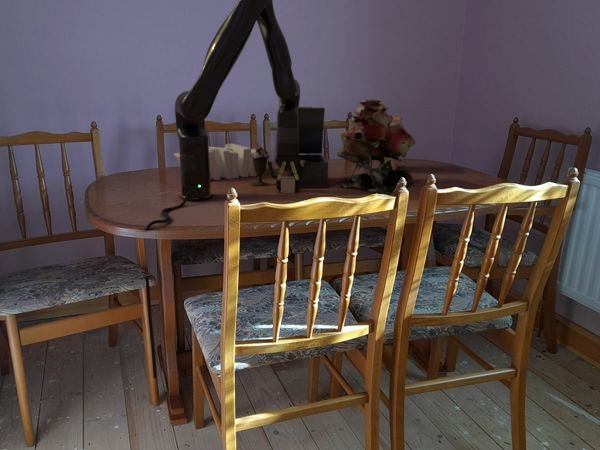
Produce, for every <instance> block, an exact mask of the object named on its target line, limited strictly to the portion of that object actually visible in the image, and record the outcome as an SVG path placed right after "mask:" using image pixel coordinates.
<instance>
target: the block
mask: <svg viewBox="0 0 600 450" xmlns="http://www.w3.org/2000/svg"><path fill="white" fill-rule="evenodd" d="M280 193H281V194H295V193H296V191H295V179H294V177H288V176H281V191H280Z"/></svg>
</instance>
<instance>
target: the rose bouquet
mask: <svg viewBox="0 0 600 450" xmlns="http://www.w3.org/2000/svg"><path fill="white" fill-rule="evenodd" d="M359 104H360V106H361V107H357V108H356V109H355V110H354V114H356V115H354V116H351V118H350V119H351V122H352V124H353V126H351V127H350V128H349V129H346V131H345V132H342V133H341V134H340V138H341V139H340V141H341V143H340V144H341V147H342V148H338V150H339V151H338V152H337V153H336V156H337V157H339V158H341V159H344V160H346V161H348V162H351V163H352V164H355V166H354V169H353V171H352V174H351V176H349V177H347V179H346V181H344V182H341V183H339V184H340V185H341V186H343V189H349V188H356V189H358V190H359V189H360V190H363V191H369V192H373V193H376V194H379V193H381V194H384V195H391V194H393V193H392V192H393V191H394V190H395V188H396V185H397V183H398V182H399V180H400V178H401V177H404V178H405V179H406V181H407V186H409V185H410V184H411V183H412V182H413V175H412V174H411V172H410V171H409V172H408V170H405V169H403V168H397V169H396V170H393V168H392V166H391V159H390V160H389V161H387V162H386V163H384V162H385V159H384V157H388V158H392V159H394V160H396V161H398V163H405V164H406V163H407V162H406V161H404V160H401V159H400V158H401V157H402V158H403V159H405V158H406V157H407V156H408V151H410V149H411V147H412V146H414V145H415V144H416V139H415V138H414V137H413V136H412V134H410V133H409V132H408V131H407V129H406V128H405V126H404V125H403V124H400V123H398V122H391V121H392V119H393V117H394V116H392V115H389V114H388V112H387V110H389V107H388V106H387V105H385V104H383V103H382V100H381V99H376V98H375V99H374V98H373V99H364V100H363V101H360V102H359ZM398 157H399V159H398ZM373 161H378V162H379V165H378V166H377V167H376V168H375V167H374V168H373ZM387 166H388V168H387ZM361 168H363V170H364V171H365V172H359V173H357V174H356V175H354V173H355V172H356V171H357V170H358V171H359V170H360V169H361ZM371 186H373V187H375V188H371V189H368V188H367V187H371ZM381 194H380V195H381Z"/></svg>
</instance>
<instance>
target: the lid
mask: <svg viewBox="0 0 600 450" xmlns="http://www.w3.org/2000/svg"><path fill="white" fill-rule="evenodd" d="M325 110H326V109H325V107H313V106H299V108H298V118H299V121H298V128H299V155H305V154H322V155H323V145H324V143H323V141H324V129H325V128H324V127H325V125H324V124H325Z"/></svg>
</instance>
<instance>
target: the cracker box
mask: <svg viewBox="0 0 600 450" xmlns="http://www.w3.org/2000/svg"><path fill="white" fill-rule="evenodd" d="M392 117H393V119H392V121H391V122H398V123H400V124H401V125H403V124H402V123H403V117H402V116H392ZM384 159H385V162H384V163H386V162H387V161H389V160H390V159H391V166H392V168H393V170H396V169H398V168H399V161H396V160H394V159H392V158H388V157H384ZM398 159H399V160H400V157H398ZM387 168H388V166H387Z"/></svg>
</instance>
